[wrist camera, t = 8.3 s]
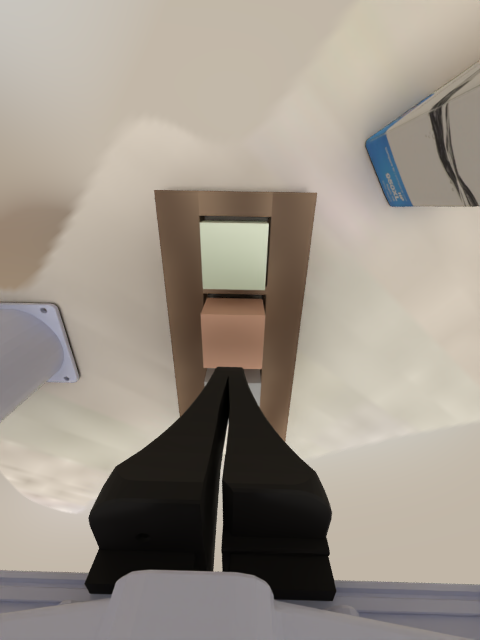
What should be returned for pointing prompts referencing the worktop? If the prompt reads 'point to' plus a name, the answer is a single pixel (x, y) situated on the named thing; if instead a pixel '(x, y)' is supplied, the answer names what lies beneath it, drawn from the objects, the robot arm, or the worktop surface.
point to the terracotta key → (233, 333)
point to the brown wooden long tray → (279, 295)
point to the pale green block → (234, 254)
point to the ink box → (433, 148)
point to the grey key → (252, 379)
